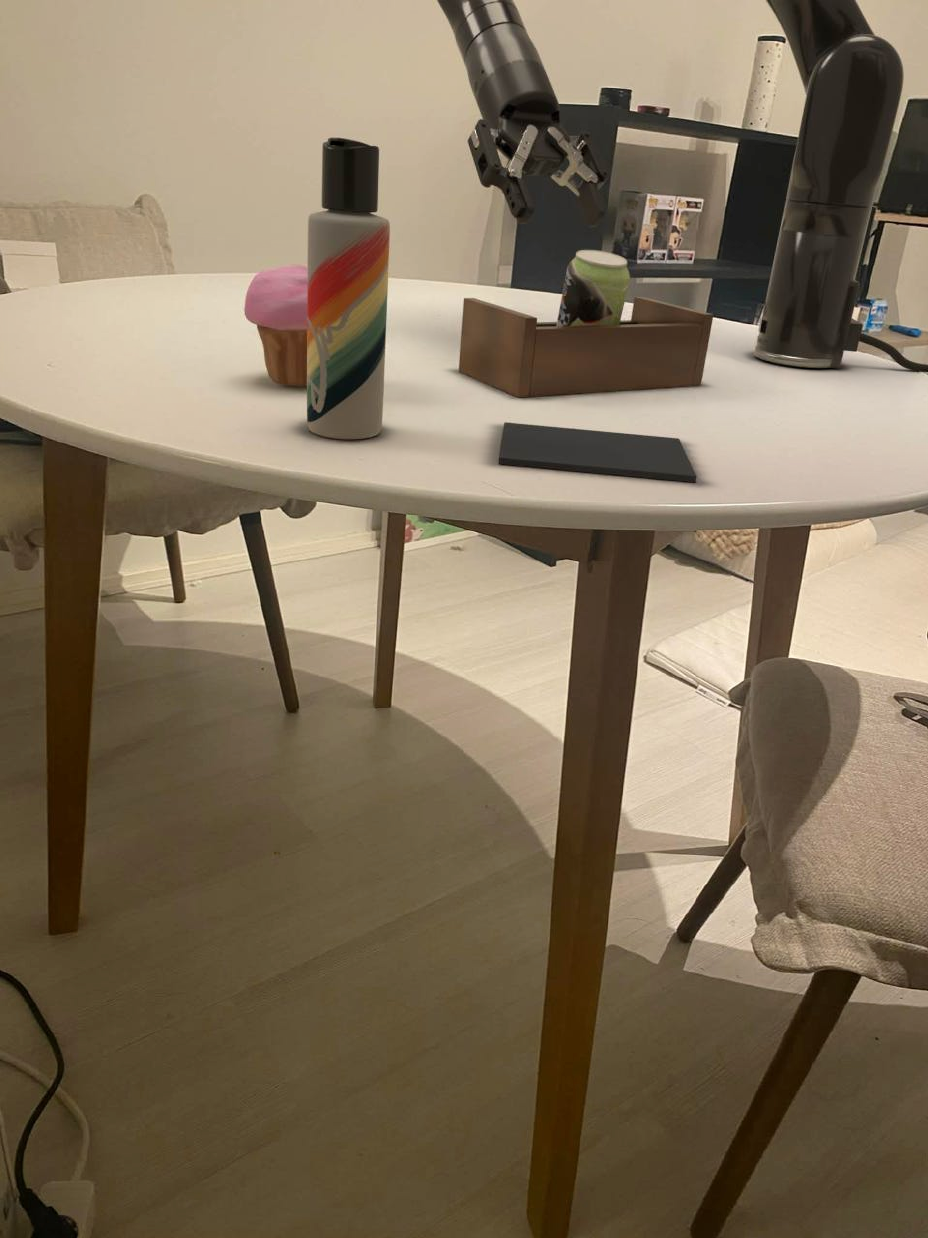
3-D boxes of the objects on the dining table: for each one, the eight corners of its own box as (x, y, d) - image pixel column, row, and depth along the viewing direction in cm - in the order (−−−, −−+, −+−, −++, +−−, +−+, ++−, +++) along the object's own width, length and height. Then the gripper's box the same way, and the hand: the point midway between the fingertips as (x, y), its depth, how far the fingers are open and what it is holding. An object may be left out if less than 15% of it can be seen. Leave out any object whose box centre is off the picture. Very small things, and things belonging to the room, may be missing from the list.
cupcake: (349, 395, 84) (352, 274, 80) (246, 393, 83) (243, 268, 78) (339, 372, 92) (342, 260, 88) (245, 370, 90) (243, 255, 86)
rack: (458, 371, 97) (463, 297, 94) (633, 362, 108) (642, 296, 105) (518, 397, 89) (526, 317, 86) (701, 385, 100) (713, 314, 97)
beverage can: (582, 368, 103) (597, 247, 97) (629, 384, 97) (648, 256, 92) (534, 372, 99) (547, 246, 94) (580, 388, 94) (597, 256, 89)
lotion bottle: (291, 429, 74) (290, 133, 65) (338, 416, 78) (343, 137, 69) (351, 445, 71) (359, 139, 62) (396, 430, 76) (409, 143, 67)
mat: (678, 444, 78) (679, 438, 78) (695, 482, 69) (696, 475, 69) (503, 428, 79) (504, 421, 78) (498, 464, 70) (499, 457, 69)
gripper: (466, 48, 93) (520, 188, 89) (585, 64, 100) (640, 196, 96) (435, 109, 99) (485, 243, 96) (550, 121, 106) (600, 246, 103)
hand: (563, 219), depth 96 cm, fingers open, 8 cm apart
